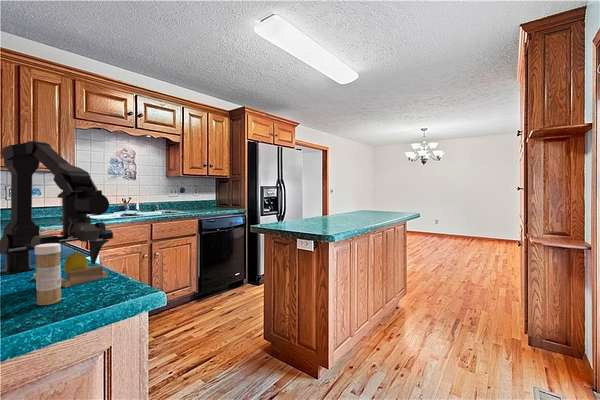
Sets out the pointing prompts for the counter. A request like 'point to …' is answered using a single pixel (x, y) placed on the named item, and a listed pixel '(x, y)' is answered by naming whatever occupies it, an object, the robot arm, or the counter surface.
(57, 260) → the sprinkles bottle
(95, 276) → the channel
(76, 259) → the lemon
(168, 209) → the counter surface
